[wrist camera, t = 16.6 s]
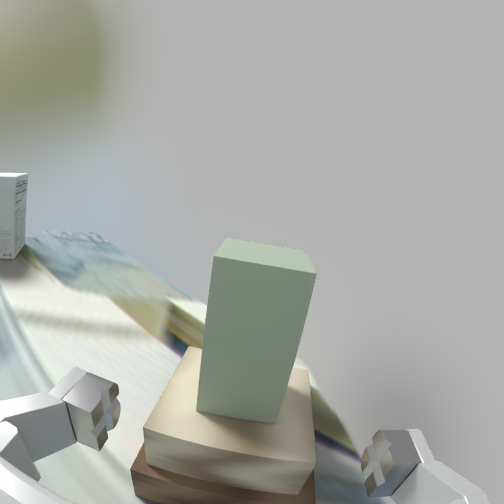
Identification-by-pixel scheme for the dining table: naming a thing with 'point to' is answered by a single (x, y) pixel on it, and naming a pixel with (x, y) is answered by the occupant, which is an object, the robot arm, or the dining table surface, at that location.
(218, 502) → the tower base
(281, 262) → the sage block
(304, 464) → the tower top
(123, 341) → the dining table surface
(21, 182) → the supplement box
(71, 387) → the robot arm
